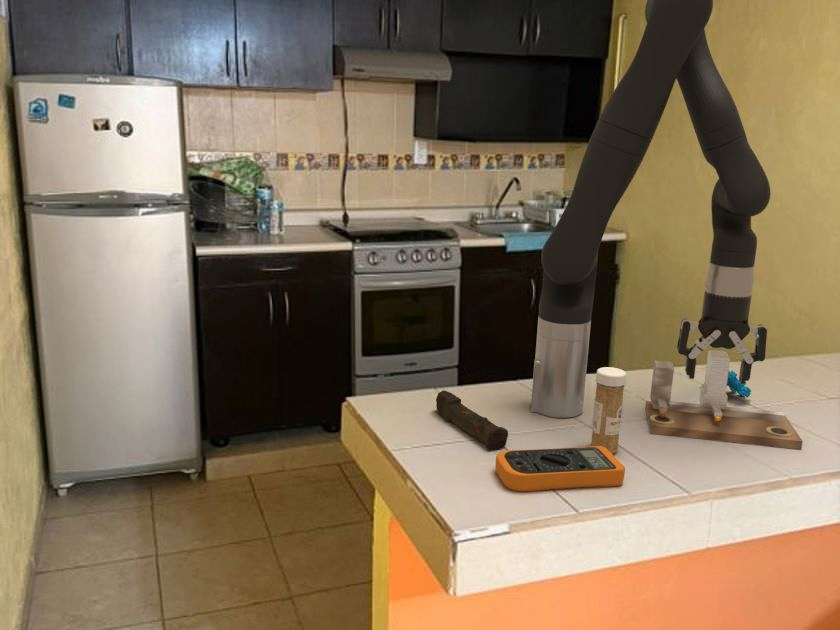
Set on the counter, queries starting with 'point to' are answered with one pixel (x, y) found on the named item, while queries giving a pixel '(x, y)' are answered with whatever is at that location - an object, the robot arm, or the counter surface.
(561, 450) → the multimeter
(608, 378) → the sprinkles bottle
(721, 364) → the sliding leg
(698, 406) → the plate
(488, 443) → the dark brown rod
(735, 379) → the blue branching piece
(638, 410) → the counter surface
